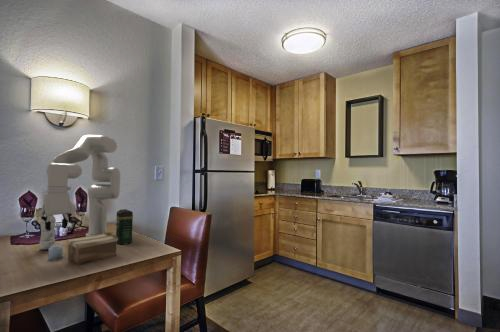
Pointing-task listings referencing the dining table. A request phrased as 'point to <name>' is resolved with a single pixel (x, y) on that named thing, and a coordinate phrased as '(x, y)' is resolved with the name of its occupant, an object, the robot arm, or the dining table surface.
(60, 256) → the blue cylinder with recess
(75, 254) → the box
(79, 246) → the lid
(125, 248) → the dining table surface
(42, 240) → the plastic bottle
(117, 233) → the coffee jar
